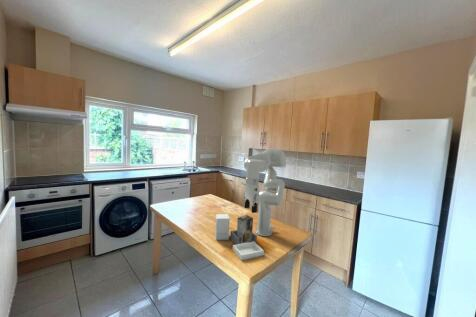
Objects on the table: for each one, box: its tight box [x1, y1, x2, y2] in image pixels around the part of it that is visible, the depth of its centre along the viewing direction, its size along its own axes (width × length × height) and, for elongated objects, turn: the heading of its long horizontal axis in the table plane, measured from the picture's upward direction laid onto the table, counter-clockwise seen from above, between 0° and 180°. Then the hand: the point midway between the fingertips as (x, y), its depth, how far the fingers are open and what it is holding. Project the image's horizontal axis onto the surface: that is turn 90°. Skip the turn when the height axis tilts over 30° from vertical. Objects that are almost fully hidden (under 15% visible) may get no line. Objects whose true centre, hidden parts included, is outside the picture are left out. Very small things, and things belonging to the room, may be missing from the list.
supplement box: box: [214, 213, 230, 241], centre depth 136 cm, size 9×9×15 cm
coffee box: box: [236, 214, 254, 244], centre depth 133 cm, size 9×6×16 cm
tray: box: [232, 241, 265, 261], centre depth 118 cm, size 15×12×3 cm
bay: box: [229, 229, 258, 245], centre depth 133 cm, size 14×12×5 cm
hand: (250, 210), depth 117 cm, fingers open, 8 cm apart
